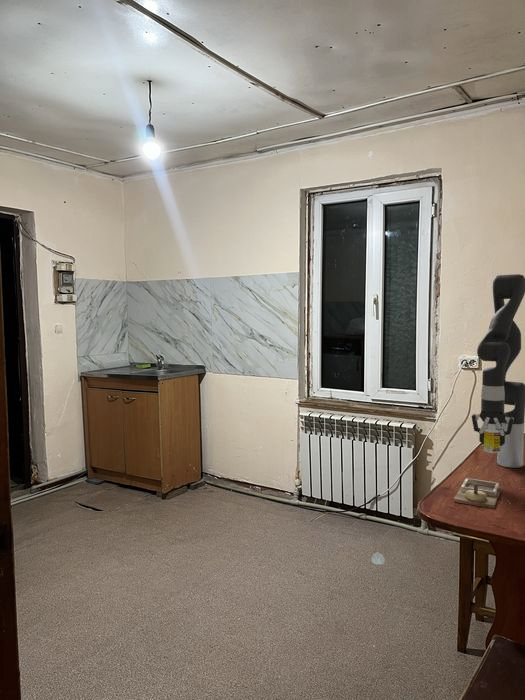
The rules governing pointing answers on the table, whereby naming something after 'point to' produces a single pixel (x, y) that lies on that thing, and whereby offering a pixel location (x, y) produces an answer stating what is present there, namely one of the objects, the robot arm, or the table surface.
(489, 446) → the supplement bottle
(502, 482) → the table surface
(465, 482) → the board
